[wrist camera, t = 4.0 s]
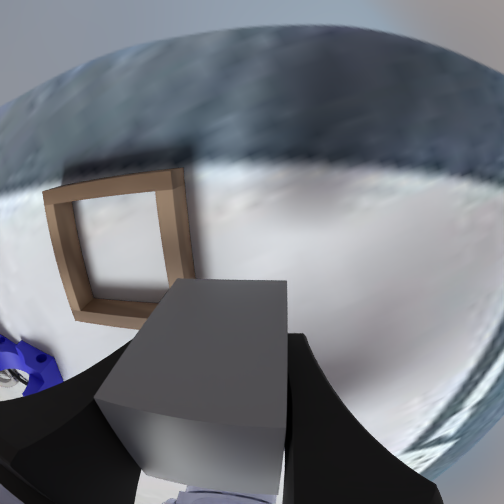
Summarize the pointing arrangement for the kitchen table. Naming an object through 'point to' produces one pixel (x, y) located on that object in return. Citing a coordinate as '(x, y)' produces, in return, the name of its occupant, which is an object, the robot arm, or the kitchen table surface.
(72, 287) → the brown square frame
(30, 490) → the robot arm
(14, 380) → the bike brake
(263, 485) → the grey block
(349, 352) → the kitchen table surface
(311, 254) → the kitchen table surface
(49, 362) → the cable clip
